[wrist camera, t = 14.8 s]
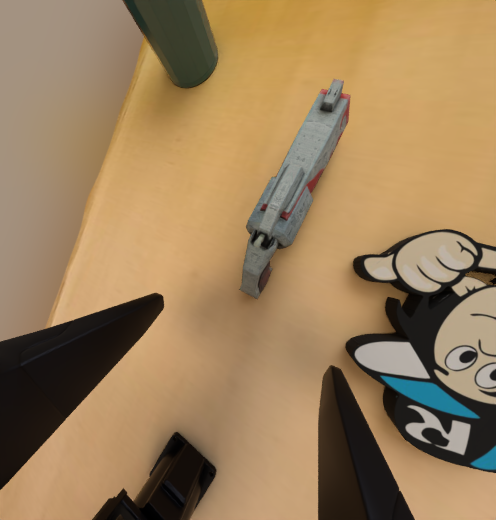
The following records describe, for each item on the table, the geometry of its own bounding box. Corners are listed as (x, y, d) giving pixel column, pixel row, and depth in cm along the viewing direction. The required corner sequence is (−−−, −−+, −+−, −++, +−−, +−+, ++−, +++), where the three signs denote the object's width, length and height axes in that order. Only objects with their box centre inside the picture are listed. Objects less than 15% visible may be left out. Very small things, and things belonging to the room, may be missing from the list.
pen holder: (200, 95, 25) (145, -17, 16) (159, 79, 27) (86, -31, 17) (228, 43, 25) (190, -104, 15) (185, 30, 27) (125, -110, 17)
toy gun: (332, 167, 24) (371, 75, 14) (266, 303, 21) (260, 302, 11) (300, 157, 25) (317, 64, 15) (233, 286, 22) (202, 272, 12)
